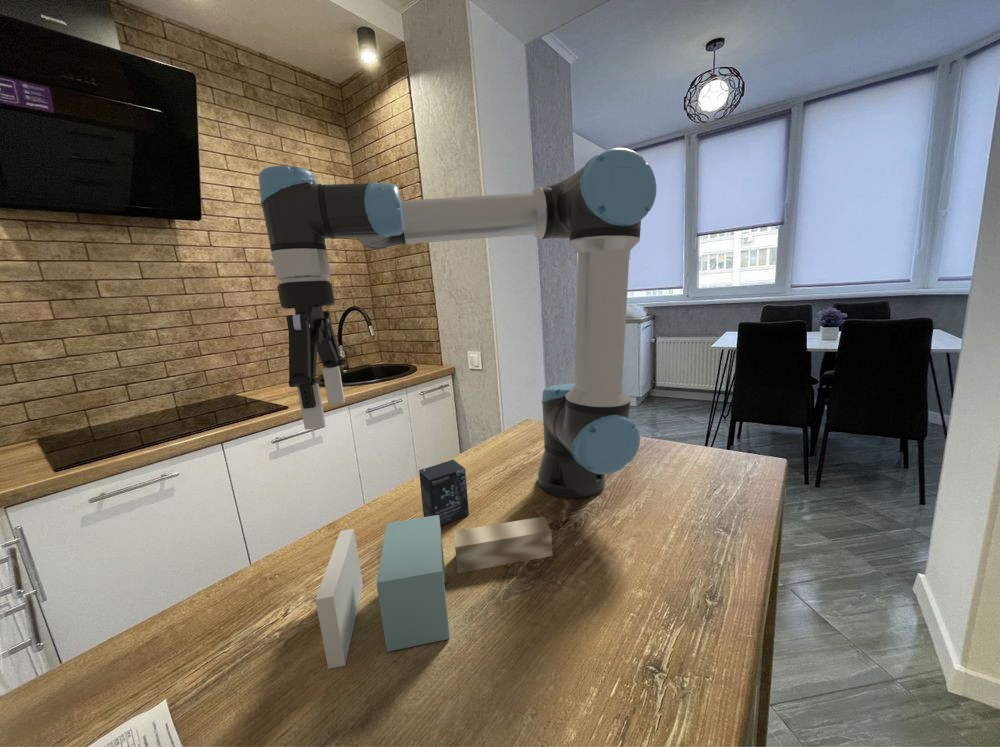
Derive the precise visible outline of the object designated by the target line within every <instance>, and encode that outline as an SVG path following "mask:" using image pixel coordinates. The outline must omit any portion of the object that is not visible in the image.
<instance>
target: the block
mask: <svg viewBox="0 0 1000 747" xmlns="http://www.w3.org/2000/svg"><path fill="white" fill-rule="evenodd" d="M441 527H442V526H440V518H439V515H435V516H428V517H424V516H423V517H418V518H410V519H409V518H408V519H404V520H403V519H402V520H397V521H391V522H390V521H389V522H387V523H386V527H385V533H384V537H383V538H384V539H383V543H382V550H381V555H380V559H379V560H380V561H379V567H378V572H377V578H376V589H377V595H378V596H377V597H378V603H379V608H380V615H381V621H382V629H383V630H382V631H383V634H384V635H383V636H384V643H385V648H386V652H387V653H388V652H392V651H393V652H394V651H397V650H402V649H407V648H413V647H416V646H421V645H427V644H430V643H436V642H440V641H441V642H442V641H446V640H449V639H450V638H451V637H450V624H449V613H448V606H447V605H448V604H447V596H446V588H445V587H446V586H445V583H446V582H447V581H446V580H447V578H446V566H445V558H444V547H443V538H442V529H441Z"/></svg>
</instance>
